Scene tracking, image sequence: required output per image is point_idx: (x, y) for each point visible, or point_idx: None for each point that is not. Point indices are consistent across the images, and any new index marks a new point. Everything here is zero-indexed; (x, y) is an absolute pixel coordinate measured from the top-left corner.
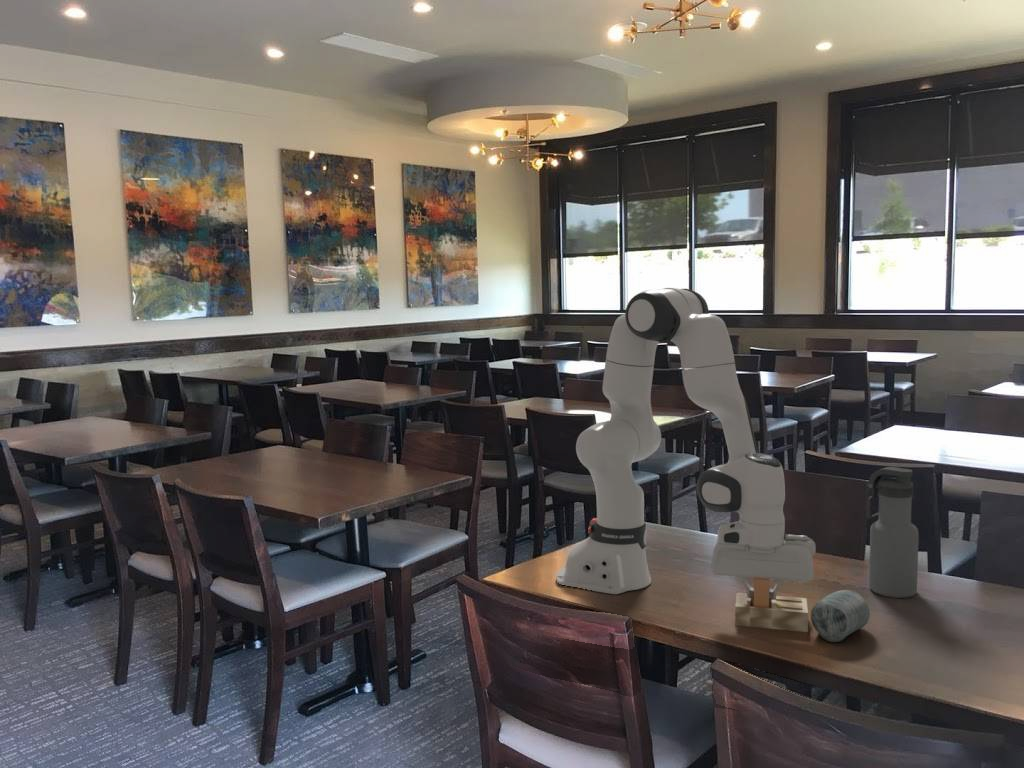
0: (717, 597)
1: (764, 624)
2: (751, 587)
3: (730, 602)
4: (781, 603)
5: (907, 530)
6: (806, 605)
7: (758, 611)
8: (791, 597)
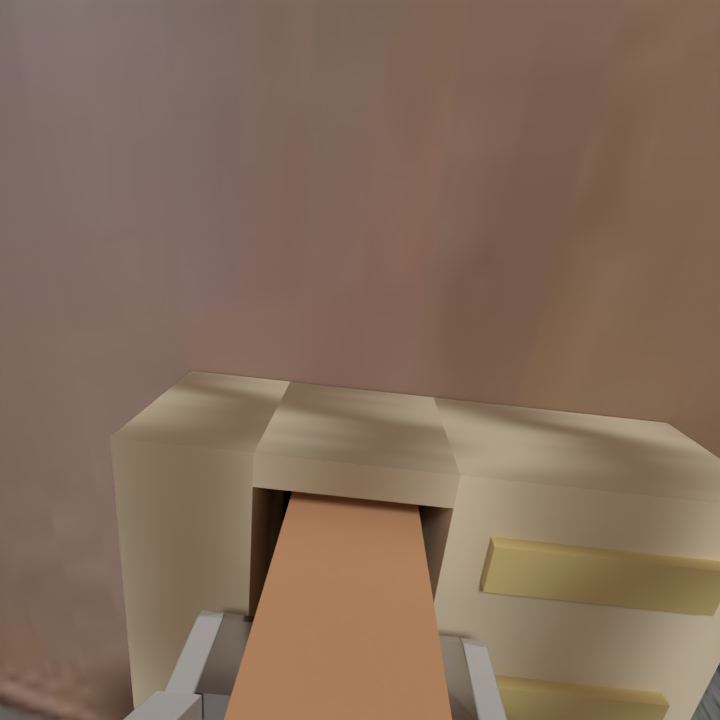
0: (7, 89)
1: None
2: (218, 695)
3: (133, 204)
4: (510, 638)
5: None
6: (717, 653)
7: None
8: (651, 506)
